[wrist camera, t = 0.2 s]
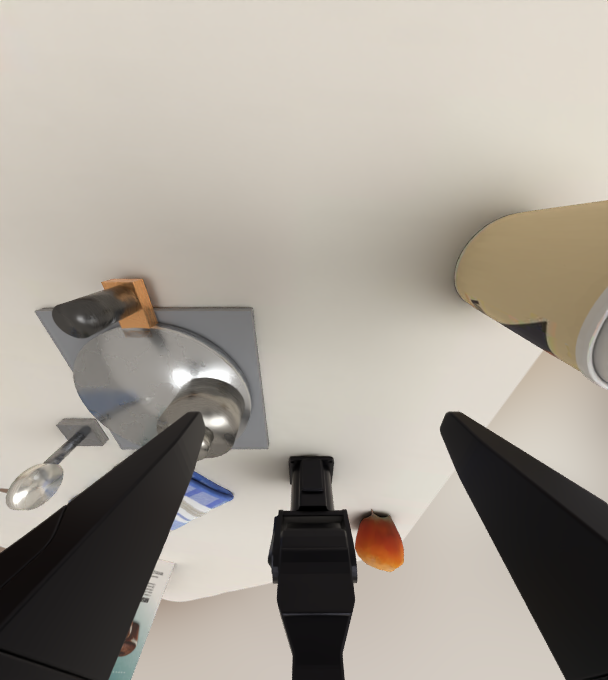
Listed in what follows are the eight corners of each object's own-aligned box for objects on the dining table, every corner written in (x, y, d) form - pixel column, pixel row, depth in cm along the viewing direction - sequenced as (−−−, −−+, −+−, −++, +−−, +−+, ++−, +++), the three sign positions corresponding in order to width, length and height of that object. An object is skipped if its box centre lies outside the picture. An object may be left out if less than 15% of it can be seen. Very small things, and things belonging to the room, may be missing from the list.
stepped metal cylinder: (248, 425, 25) (235, 473, 20) (188, 425, 25) (160, 473, 20) (240, 377, 22) (222, 421, 17) (170, 377, 22) (132, 421, 17)
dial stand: (108, 439, 30) (37, 518, 22) (79, 439, 30) (-3, 518, 22) (95, 418, 28) (11, 496, 20) (64, 418, 28) (-33, 496, 20)
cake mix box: (66, 548, 47) (-243, 972, 20) (71, 538, 44) (-270, 1001, 18) (166, 570, 53) (28, 917, 26) (175, 562, 50) (34, 934, 24)
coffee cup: (426, 307, 21) (556, 395, 10) (477, 190, 16) (803, 127, 6) (516, 320, 21) (727, 415, 11) (588, 211, 17) (1069, 188, 6)
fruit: (411, 516, 37) (417, 582, 33) (386, 508, 44) (389, 562, 40) (367, 510, 36) (368, 577, 32) (348, 502, 43) (347, 557, 39)
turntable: (259, 446, 29) (250, 493, 24) (124, 446, 29) (86, 493, 24) (234, 278, 18) (207, 299, 13) (21, 278, 18) (-87, 299, 13)
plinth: (268, 443, 30) (267, 450, 29) (125, 444, 30) (120, 450, 29) (252, 307, 21) (250, 311, 20) (43, 308, 21) (32, 311, 20)
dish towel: (72, 496, 38) (55, 515, 35) (147, 439, 31) (133, 458, 28) (159, 531, 44) (150, 549, 41) (238, 490, 37) (233, 510, 34)
